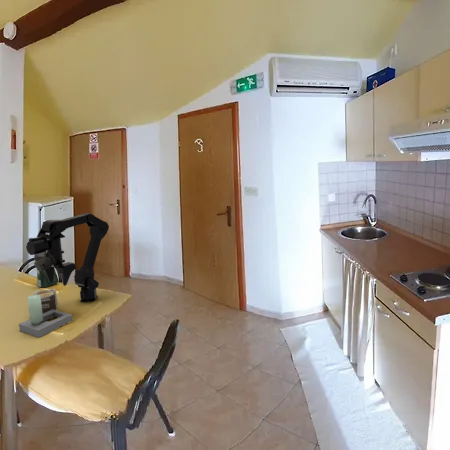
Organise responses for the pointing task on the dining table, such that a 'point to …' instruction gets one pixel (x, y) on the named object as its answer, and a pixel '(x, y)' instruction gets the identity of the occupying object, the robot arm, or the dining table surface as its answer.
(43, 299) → the coffee box
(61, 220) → the robot arm
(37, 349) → the dining table surface
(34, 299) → the peg
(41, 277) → the coffee jar
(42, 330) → the keyhole plate
